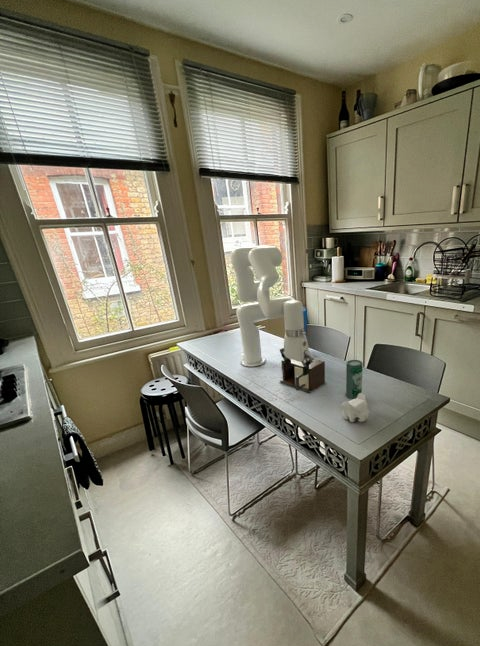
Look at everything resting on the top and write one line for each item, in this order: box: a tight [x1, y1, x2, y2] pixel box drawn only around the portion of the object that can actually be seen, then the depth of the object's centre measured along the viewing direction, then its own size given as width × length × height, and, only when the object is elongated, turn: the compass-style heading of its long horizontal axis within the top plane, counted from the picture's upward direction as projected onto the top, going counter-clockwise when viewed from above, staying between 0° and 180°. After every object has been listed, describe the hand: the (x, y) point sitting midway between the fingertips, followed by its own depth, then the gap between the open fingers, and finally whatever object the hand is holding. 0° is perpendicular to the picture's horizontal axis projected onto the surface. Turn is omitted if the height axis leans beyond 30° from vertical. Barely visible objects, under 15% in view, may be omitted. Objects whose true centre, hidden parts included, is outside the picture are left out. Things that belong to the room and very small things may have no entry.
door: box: [294, 366, 309, 391], centre depth 137 cm, size 7×6×9 cm
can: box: [345, 359, 364, 400], centre depth 131 cm, size 6×6×15 cm
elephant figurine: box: [340, 392, 374, 423], centre depth 116 cm, size 10×12×9 cm
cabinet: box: [279, 358, 326, 394], centre depth 144 cm, size 17×12×11 cm
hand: (297, 371), depth 131 cm, fingers open, 9 cm apart
